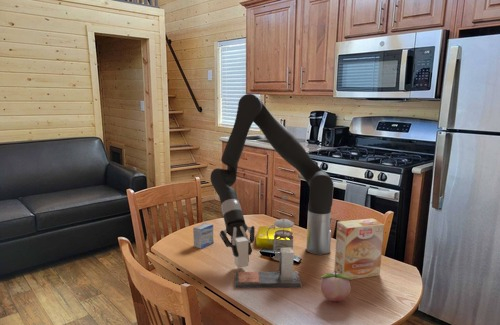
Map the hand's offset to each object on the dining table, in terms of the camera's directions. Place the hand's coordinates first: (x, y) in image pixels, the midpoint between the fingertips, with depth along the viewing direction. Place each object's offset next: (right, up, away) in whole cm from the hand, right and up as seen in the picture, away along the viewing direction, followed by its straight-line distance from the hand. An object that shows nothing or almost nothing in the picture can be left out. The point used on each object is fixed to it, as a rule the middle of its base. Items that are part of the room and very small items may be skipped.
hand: (243, 255), depth 127 cm
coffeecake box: (+41, -7, 0) cm, 42 cm away
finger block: (-1, -4, +3) cm, 5 cm away
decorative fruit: (+29, -10, -17) cm, 35 cm away
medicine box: (-18, -2, +24) cm, 30 cm away
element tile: (+13, -2, +29) cm, 32 cm away
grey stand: (+8, -8, -6) cm, 13 cm away
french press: (+15, -4, +14) cm, 21 cm away
